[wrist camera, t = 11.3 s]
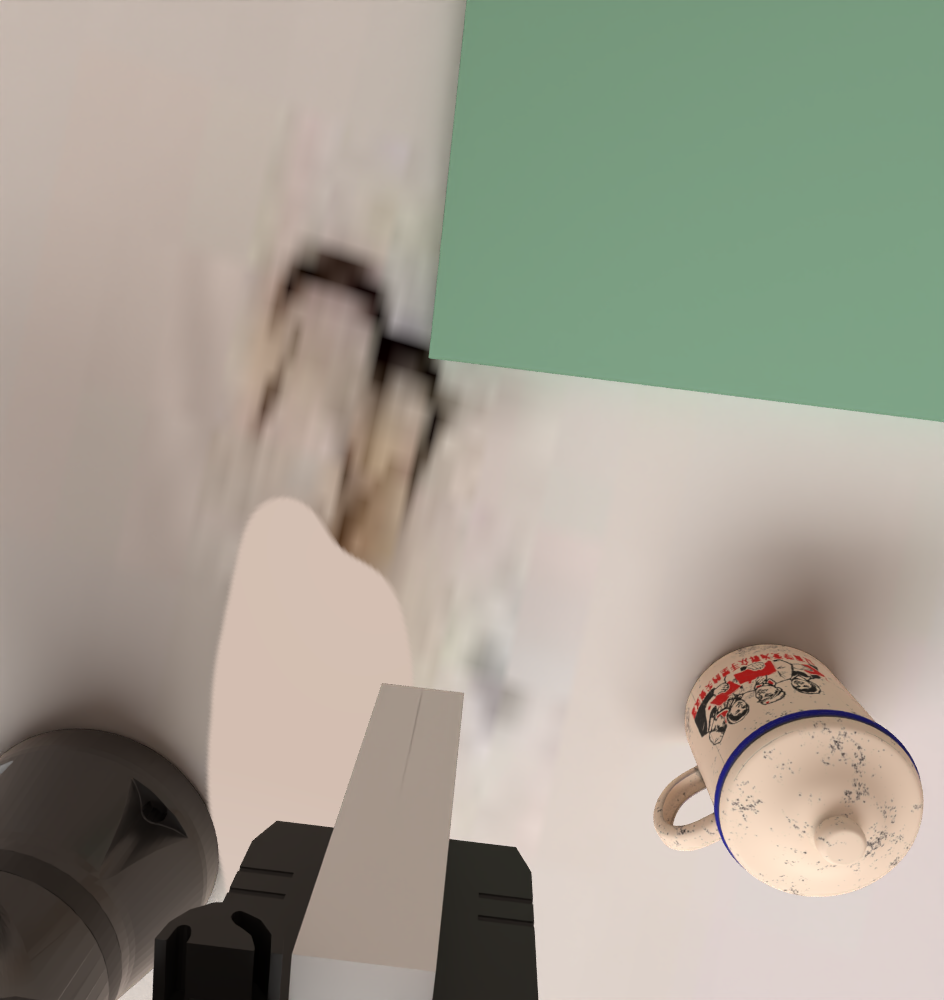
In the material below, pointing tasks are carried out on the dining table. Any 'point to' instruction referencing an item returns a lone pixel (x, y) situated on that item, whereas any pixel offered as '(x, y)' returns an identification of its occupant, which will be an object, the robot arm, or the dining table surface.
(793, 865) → the teacup with lid
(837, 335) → the green slab with pocket
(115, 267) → the dining table surface
